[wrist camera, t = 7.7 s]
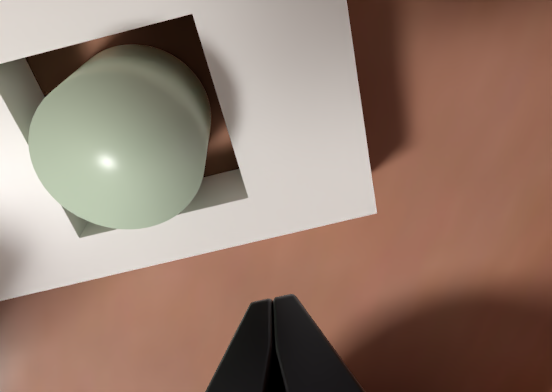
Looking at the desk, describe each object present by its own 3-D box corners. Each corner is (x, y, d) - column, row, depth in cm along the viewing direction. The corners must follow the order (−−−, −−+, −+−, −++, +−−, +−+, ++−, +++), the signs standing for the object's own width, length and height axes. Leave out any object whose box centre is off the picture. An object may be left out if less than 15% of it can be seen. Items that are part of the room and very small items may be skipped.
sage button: (185, 27, 12) (172, 52, 10) (227, 159, 14) (225, 208, 12) (44, 64, 13) (-7, 98, 10) (104, 189, 15) (75, 244, 12)
